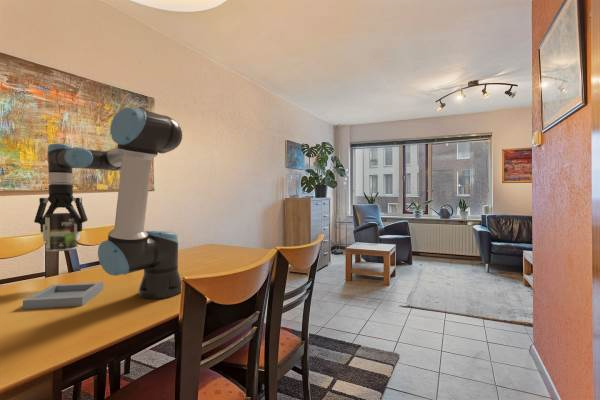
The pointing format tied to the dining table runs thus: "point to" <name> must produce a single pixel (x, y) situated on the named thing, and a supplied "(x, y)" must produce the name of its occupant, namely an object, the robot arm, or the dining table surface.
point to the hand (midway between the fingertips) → (61, 240)
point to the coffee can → (60, 232)
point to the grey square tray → (63, 295)
